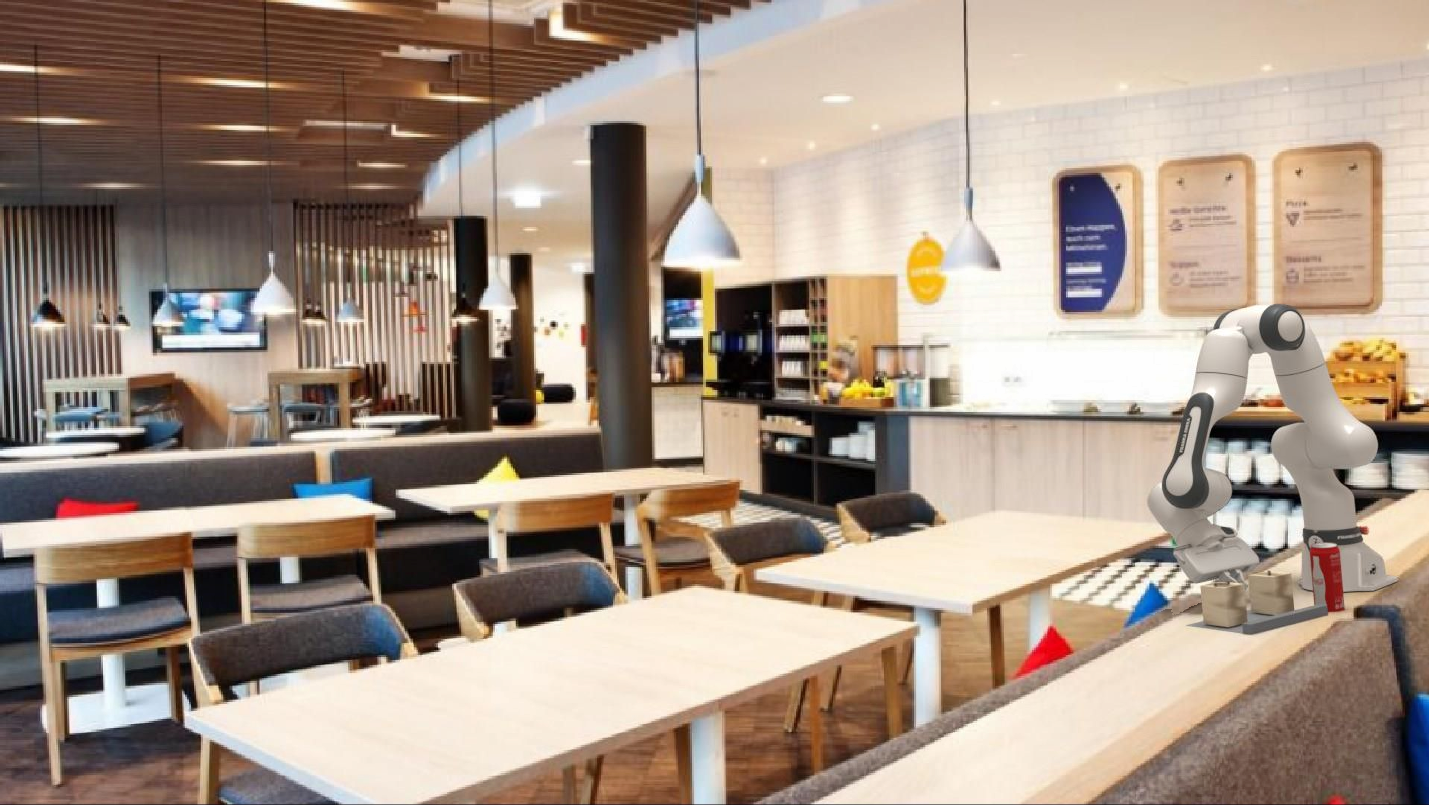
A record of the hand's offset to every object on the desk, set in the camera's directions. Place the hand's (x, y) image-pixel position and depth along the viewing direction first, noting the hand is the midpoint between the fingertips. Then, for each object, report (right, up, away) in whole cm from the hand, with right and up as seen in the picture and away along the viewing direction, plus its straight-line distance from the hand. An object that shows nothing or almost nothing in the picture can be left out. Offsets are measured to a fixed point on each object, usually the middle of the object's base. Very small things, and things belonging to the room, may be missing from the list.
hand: (1242, 589), depth 265 cm
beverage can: (+15, -4, -8) cm, 18 cm away
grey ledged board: (-2, -6, -12) cm, 13 cm away
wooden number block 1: (+4, -4, -6) cm, 8 cm away
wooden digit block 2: (-9, -5, -13) cm, 17 cm away
